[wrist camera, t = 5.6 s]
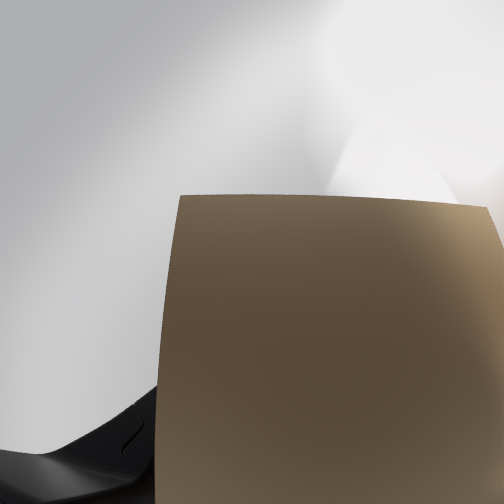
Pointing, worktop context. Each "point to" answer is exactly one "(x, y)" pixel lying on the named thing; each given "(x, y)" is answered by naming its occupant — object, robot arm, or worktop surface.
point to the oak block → (331, 353)
